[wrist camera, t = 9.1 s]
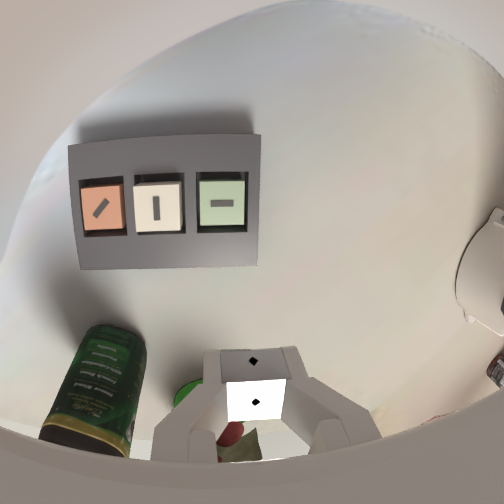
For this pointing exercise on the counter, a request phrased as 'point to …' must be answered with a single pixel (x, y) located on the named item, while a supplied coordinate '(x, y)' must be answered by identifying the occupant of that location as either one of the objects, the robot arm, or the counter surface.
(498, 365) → the supplement bottle
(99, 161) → the keypad
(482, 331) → the counter surface
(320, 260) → the counter surface
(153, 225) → the key mid
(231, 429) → the red green toy sculpture
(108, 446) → the coffee jar
